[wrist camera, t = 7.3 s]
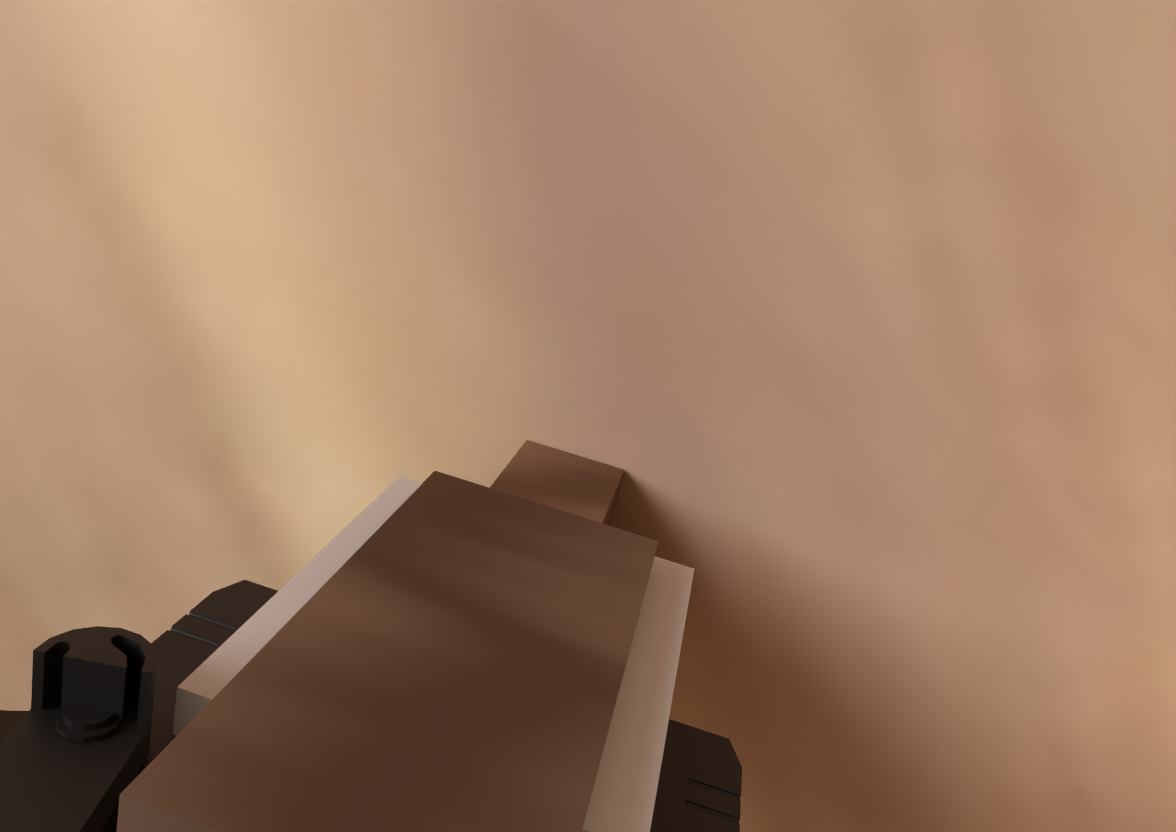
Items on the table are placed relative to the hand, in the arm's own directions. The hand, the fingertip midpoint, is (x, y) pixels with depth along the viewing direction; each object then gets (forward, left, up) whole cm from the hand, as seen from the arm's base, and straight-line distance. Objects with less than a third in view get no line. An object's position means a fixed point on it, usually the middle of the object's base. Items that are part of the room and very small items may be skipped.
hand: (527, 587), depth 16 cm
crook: (-4, -11, -2) cm, 12 cm away
